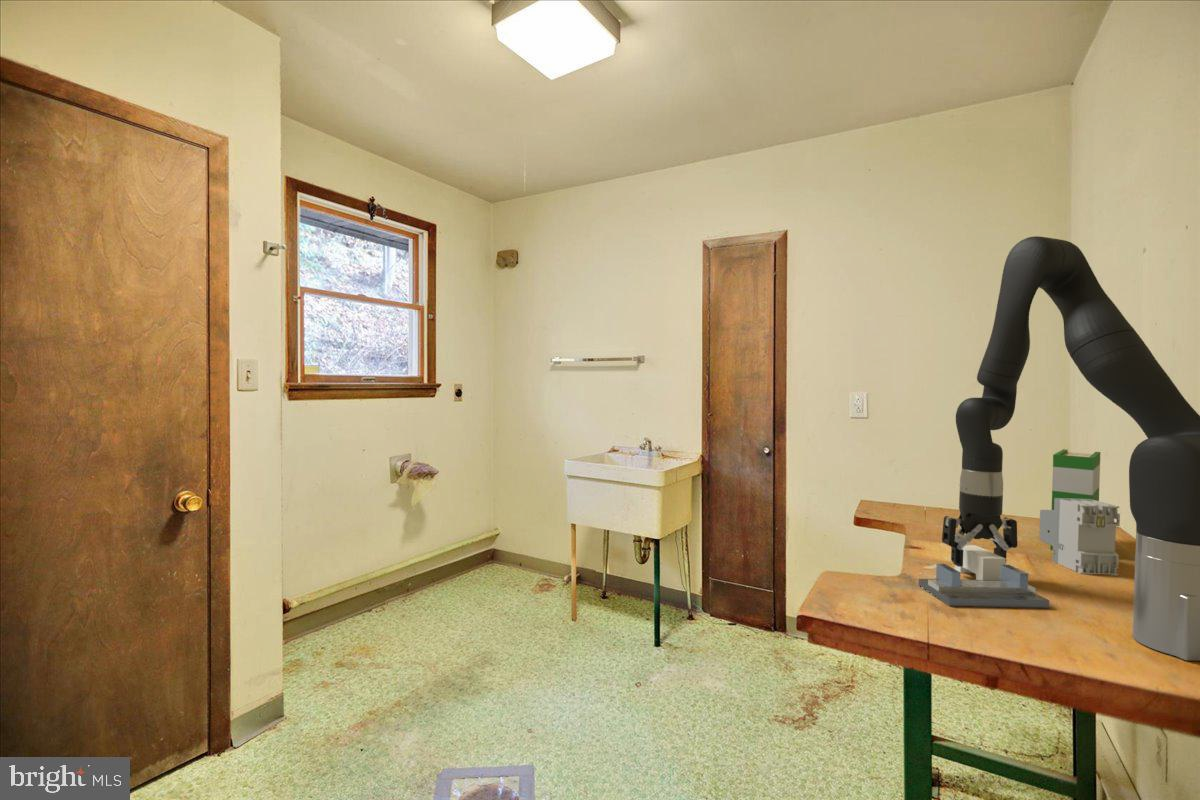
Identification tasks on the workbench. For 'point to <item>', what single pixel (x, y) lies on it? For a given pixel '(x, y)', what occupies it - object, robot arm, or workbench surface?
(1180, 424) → the robot arm
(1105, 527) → the circuit breaker
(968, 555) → the block
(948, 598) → the rail mount
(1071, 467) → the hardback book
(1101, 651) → the workbench surface
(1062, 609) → the workbench surface
